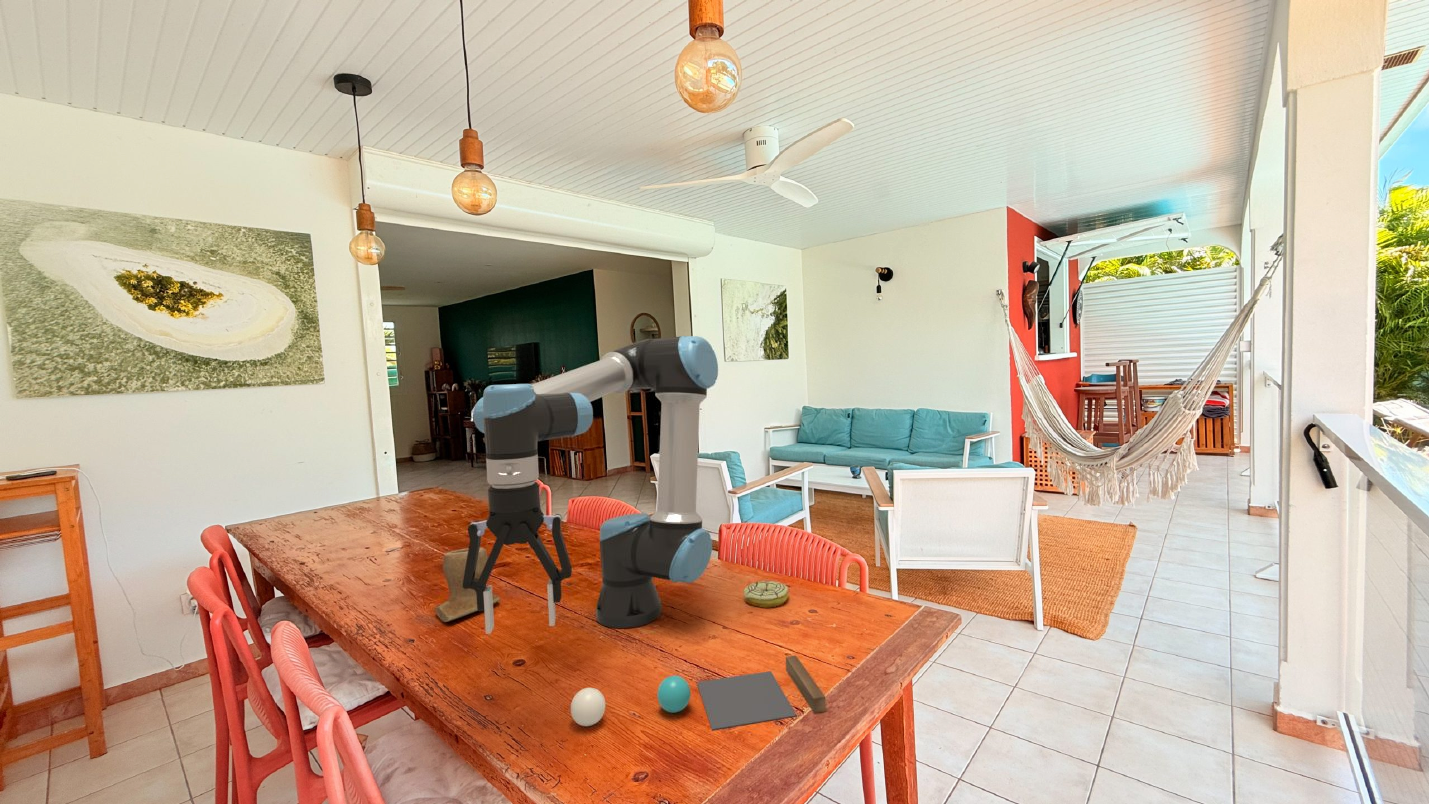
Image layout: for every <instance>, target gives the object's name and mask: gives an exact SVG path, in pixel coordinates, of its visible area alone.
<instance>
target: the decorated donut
mask: <svg viewBox="0 0 1429 804" xmlns="http://www.w3.org/2000/svg"><path fill="white" fill-rule="evenodd" d="M743 595H744V600H745V602H746V603H747V604H750V605H751V606H753V607H757V608H758V607H759V608H766V609H768V608H769V609H770V608H776V606H777V607H779V605H780V606H782V605H783V604H785V603H786V600H787V599H788V598H789V587H788V586H787V585H785V584H784V583H782V582H779V581H773V580H772V581H771V580H769V581H768V580H763V581H755V582H753V583H751V584H749V585H747V586H746V587H745V588H744V590H743ZM784 602H785V603H784Z"/></svg>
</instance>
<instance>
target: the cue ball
mask: <svg viewBox="0 0 1429 804" xmlns="http://www.w3.org/2000/svg"><path fill="white" fill-rule="evenodd" d="M605 711H606V699H605V696H604V695H603V694H602V692H601V691H600V690H599V689H597V688H594V687H585V688H583V689H581V690H579V691H578V692H577V693H576V694H575V695H574V697H573V699H572V700H571V703H570V714H571V717H572V719H573V721H574V722H575V723H576V724H577V725H578V726H582V727H590V726H593V725H595V724H597V723H598V722H599V721H600V720H601V719H602V718H603V716H604V713H605Z"/></svg>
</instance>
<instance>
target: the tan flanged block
mask: <svg viewBox="0 0 1429 804" xmlns="http://www.w3.org/2000/svg"><path fill="white" fill-rule="evenodd" d="M468 549H469V547H467V548H461V549H455V550H452V551H448V552H446V553H445V554H444V555H443V557H442V559H443V560H442V570H443V574H444V577H445V580H446V583H447V587H448V590H449V597H448V599H447V601H445V602H443V603H442V604H440V605H437V606H436V607H435V608H434V612H435V613H436V615H437V616H438V618H439V620H441V622H444V623H447V622H451V621H454V620H456V619H457V620H458V619H459V618H462V617H465V616H467V615H470V614H473V613H475V612H477V611H478V609H477V596H476V591H475V590H473V589H464V588H463V579H464V573H465V567H466V561H467V555H468ZM487 552H488V551H487V549H486V548H484V547H480V548H479V554H478V560H477V566H476V572H475V578H477V579H479V578H480V576H481V573H482V571H483V569H484V567H485V564H486V562H487V560H488V557H489V555H488V553H487ZM492 597H493V605H494V604H496V603H497V602H499V601H500V599H501V597H500V596H499V595H498V594H494V593H492ZM478 612H479V611H478Z"/></svg>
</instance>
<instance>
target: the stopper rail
mask: <svg viewBox="0 0 1429 804" xmlns="http://www.w3.org/2000/svg"><path fill="white" fill-rule="evenodd" d="M785 671H786V672H787V674H788V675H789V676H790V678H791V679H792V681H793V683H794V684H795V686H796V687H797V689H798V690H799V692H800V694H801V695H802V697H803V698H804V700H805V702H806V703H807V704H808V706H809V708H810V710H811V711H812V712H813V714H818V713H820V714H821V713H824V712H826V711H827V710H826V709H827V708H826V706H827V704H826V695H825V694H824V693H823V690H821V688H820V687H819V686H818V685H817V683H816V682H815V680H814V679H813V677H812V675H810V673H809V671H808V670H807V669H806V668H805V666H804V664H803V663H802V662H801V660H800V659H799V657H798V656H797V655H795V654H794V655H789V656H785Z"/></svg>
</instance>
